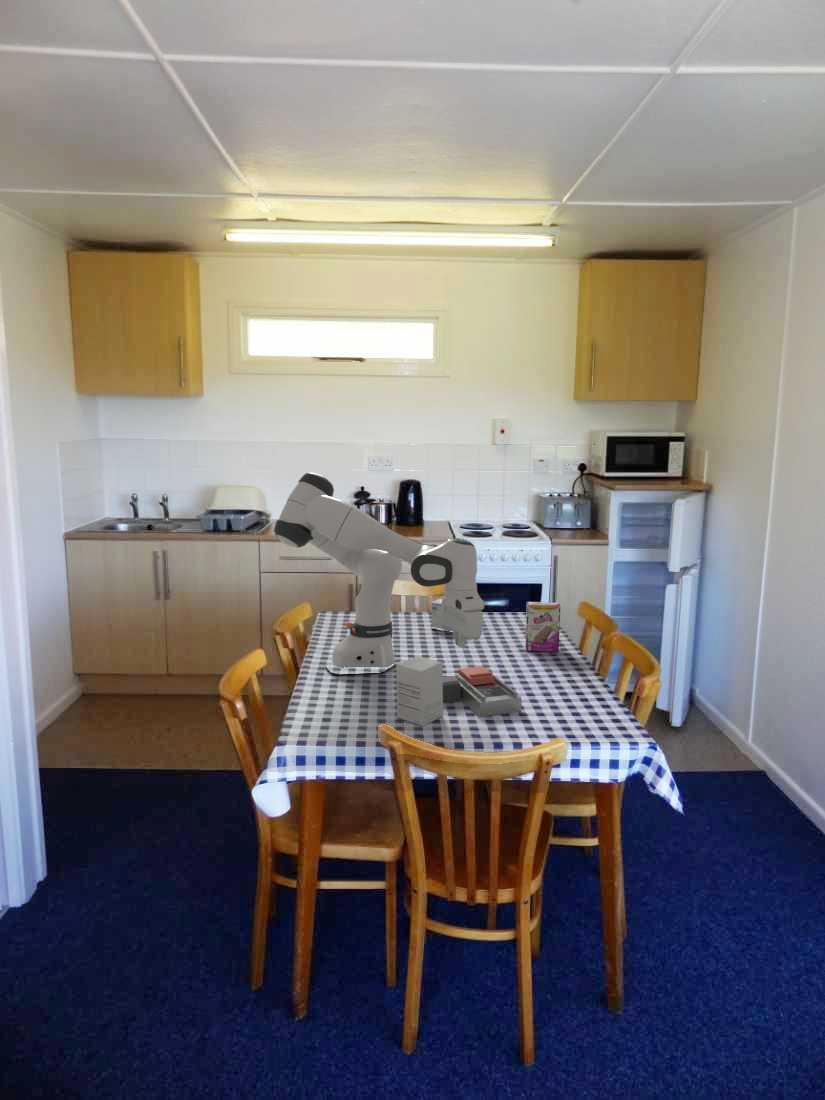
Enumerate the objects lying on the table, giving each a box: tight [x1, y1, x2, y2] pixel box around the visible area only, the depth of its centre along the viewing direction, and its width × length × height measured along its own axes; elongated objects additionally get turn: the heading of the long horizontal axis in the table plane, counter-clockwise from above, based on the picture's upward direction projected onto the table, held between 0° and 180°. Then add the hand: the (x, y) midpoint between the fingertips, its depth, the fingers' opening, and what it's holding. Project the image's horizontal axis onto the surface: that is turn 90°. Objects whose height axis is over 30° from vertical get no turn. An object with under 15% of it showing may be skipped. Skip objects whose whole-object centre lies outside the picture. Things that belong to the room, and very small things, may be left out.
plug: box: [443, 675, 462, 704], centre depth 212 cm, size 6×5×6 cm
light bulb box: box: [430, 598, 453, 631], centre depth 282 cm, size 11×7×11 cm, turn 58°
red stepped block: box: [458, 665, 496, 685], centre depth 216 cm, size 8×9×3 cm
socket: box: [454, 672, 522, 718], centre depth 211 cm, size 12×21×5 cm, turn 18°
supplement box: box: [395, 656, 444, 727], centre depth 198 cm, size 9×9×15 cm
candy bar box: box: [524, 601, 561, 653], centre depth 255 cm, size 11×5×16 cm, turn 84°
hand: (459, 645), depth 210 cm, fingers closed
